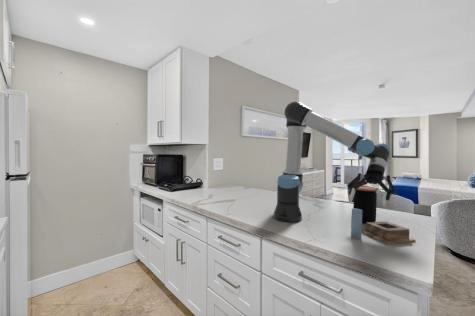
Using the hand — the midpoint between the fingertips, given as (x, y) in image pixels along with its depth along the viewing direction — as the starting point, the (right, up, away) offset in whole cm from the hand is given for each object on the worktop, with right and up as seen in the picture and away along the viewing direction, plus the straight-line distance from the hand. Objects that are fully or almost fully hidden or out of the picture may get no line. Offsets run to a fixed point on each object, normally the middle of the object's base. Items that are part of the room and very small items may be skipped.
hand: (366, 202), depth 101 cm
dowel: (-8, -14, -6) cm, 17 cm away
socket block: (+6, -14, -5) cm, 16 cm away
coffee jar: (+9, -14, +18) cm, 24 cm away
